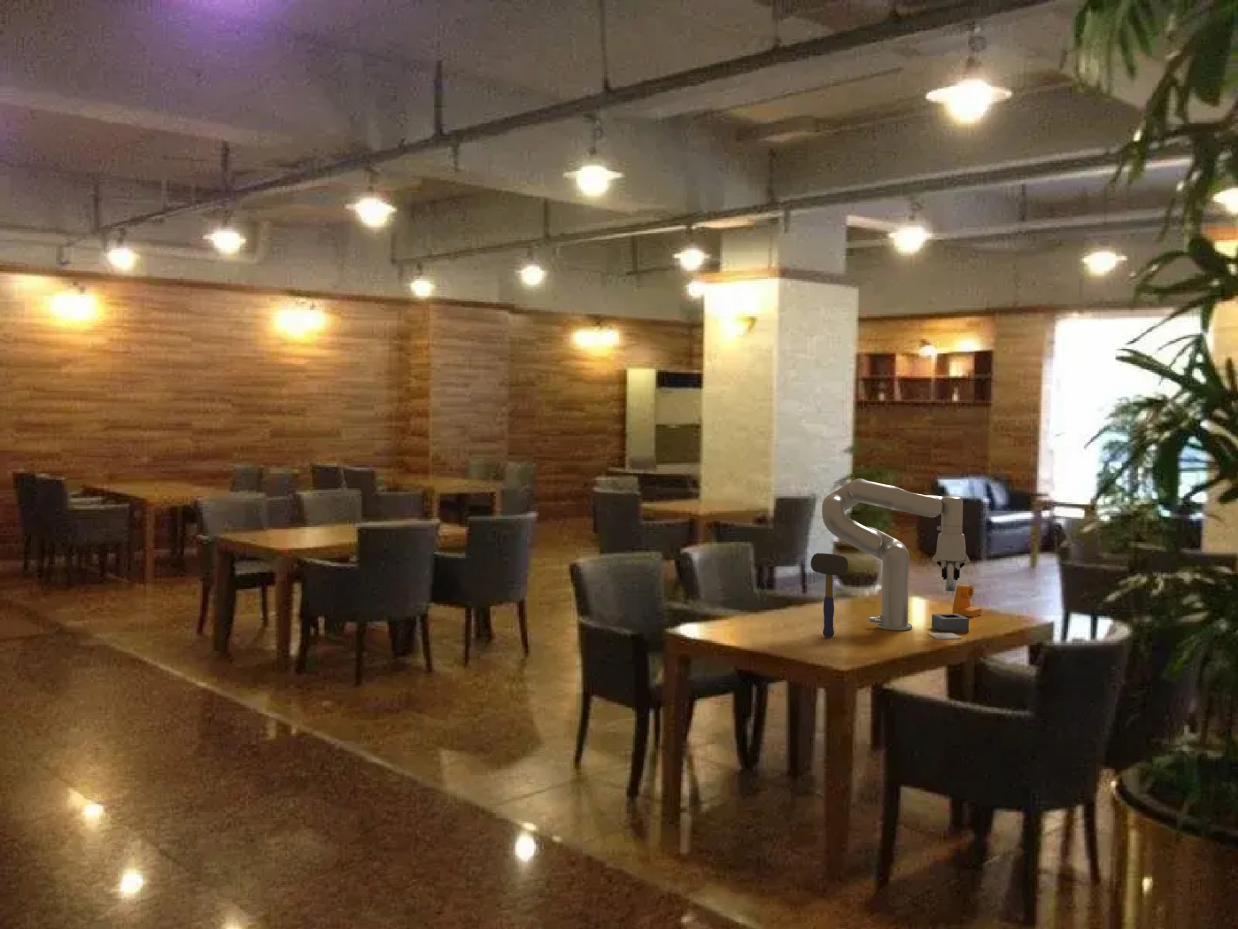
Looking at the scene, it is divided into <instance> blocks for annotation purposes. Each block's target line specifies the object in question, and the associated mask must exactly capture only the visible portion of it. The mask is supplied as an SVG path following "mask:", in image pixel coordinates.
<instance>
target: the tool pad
mask: <svg viewBox="0 0 1238 929" xmlns="http://www.w3.org/2000/svg"><path fill="white" fill-rule="evenodd" d="M927 635H929V636H930V637H932V638H934V639H936V640H959V639H958V638H962V639H963V637H962V636H960V635H959V634H956V633H955V632H953V633H942V632H927Z"/></svg>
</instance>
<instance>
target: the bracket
mask: <svg viewBox="0 0 1238 929" xmlns="http://www.w3.org/2000/svg"><path fill="white" fill-rule="evenodd" d="M973 597H974V586H973V585H970V584H963V583H962V584H961V583H959V584H957V585H956V588H955V595H954V598H953V604H952V613H951V614H960V615H962V616H964V617H967V616H968V617H967V618H975V616H976V617H978V615H979V616H980V615H981V614H982V612H983V611H982V607H978V606H971V602H970V600H971V599H972V598H973Z"/></svg>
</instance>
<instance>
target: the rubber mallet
mask: <svg viewBox="0 0 1238 929" xmlns="http://www.w3.org/2000/svg"><path fill="white" fill-rule="evenodd" d="M810 567H811V569H812V571H814V573H819V574H823V575H825V591H824V592H825V595H824V599H823V612H822V613H823V630H822V634H823V636H824V638H826V637H827V639H831V638H833V637H834V635H835V629H834V615H835V600H834V597H833V596H834V593H833V592H834V588H833V587H834V582H833V581H834V580H833V579H834V578H833V577H834V576H840V577H841V576H844V575H846V573H847V571H848V568H849V562H848V559H847V557H846V556H843V555H839V554H834V553H833V554H832V553H822V552H817V553H814V555H812V557H811V560H810Z"/></svg>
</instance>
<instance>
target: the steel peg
mask: <svg viewBox="0 0 1238 929" xmlns="http://www.w3.org/2000/svg"><path fill="white" fill-rule="evenodd" d="M945 567H946V579H945V581H944V582H945V585H944V587H945V588H944V589H945V592H956V589H957V584H956V582H957V581H956V580H955V570H956V568H957V567H956V562H955V561H946V564H945Z"/></svg>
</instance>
